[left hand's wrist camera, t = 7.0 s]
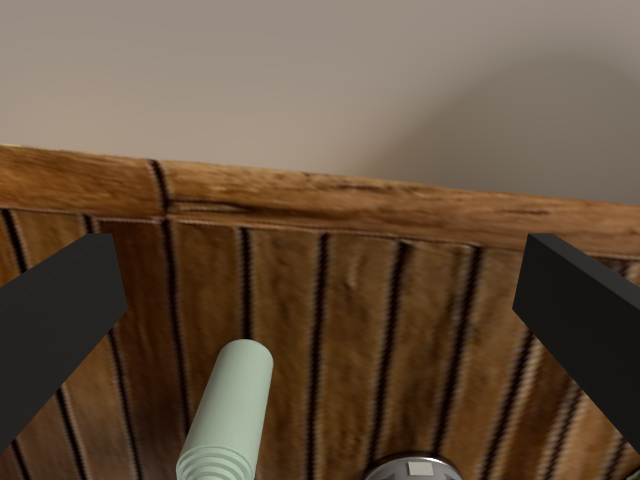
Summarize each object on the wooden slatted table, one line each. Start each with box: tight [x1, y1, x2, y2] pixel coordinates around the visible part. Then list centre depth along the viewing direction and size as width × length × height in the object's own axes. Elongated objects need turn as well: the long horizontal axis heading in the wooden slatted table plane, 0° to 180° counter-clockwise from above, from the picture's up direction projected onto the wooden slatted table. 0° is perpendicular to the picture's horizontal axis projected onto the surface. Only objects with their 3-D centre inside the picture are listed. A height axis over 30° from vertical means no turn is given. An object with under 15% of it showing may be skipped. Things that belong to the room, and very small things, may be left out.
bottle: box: [176, 339, 273, 480], centre depth 39 cm, size 7×7×20 cm
